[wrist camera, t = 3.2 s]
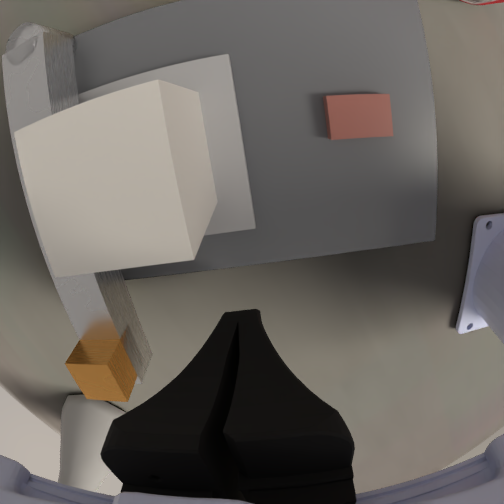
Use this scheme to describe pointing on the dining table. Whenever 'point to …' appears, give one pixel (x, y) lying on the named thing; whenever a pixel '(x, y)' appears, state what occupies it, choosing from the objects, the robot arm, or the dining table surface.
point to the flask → (84, 441)
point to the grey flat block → (301, 118)
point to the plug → (139, 170)
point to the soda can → (482, 1)
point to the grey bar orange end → (69, 287)
